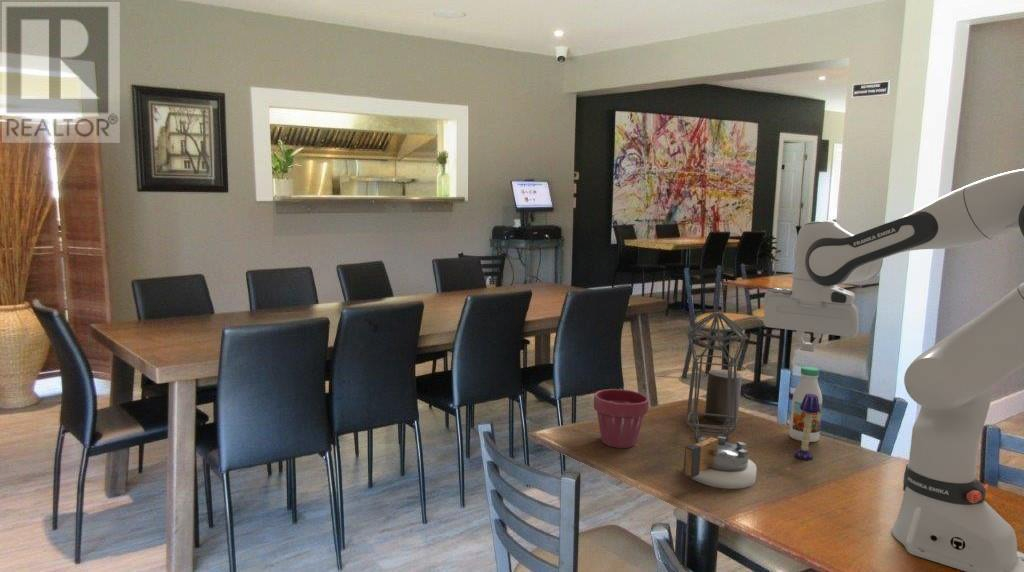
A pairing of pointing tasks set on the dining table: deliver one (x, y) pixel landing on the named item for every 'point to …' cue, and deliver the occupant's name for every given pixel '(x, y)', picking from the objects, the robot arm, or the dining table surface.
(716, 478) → the white round plate
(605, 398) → the plant pot
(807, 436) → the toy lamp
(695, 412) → the geometric lantern
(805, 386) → the milk bottle
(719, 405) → the pillar candle
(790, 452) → the dining table surface
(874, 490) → the dining table surface
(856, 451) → the dining table surface
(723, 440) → the lugged steel disc
